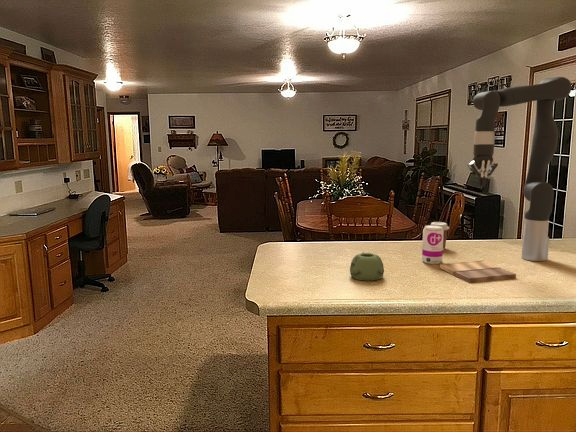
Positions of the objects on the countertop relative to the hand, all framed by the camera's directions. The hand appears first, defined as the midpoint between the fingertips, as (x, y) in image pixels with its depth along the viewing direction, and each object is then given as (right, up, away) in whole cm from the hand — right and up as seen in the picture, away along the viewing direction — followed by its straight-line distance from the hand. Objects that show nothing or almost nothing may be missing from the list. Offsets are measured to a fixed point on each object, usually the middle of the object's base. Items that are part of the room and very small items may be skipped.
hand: (481, 186), depth 194 cm
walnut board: (-4, -35, -13) cm, 37 cm away
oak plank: (-7, -33, -4) cm, 34 cm away
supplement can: (-17, -31, +9) cm, 37 cm away
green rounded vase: (-48, -35, -11) cm, 60 cm away
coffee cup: (-7, -27, +33) cm, 43 cm away
